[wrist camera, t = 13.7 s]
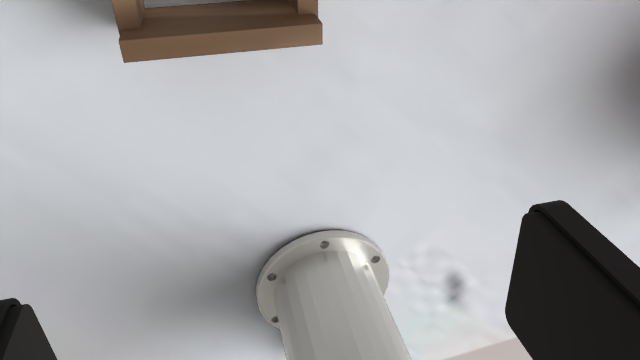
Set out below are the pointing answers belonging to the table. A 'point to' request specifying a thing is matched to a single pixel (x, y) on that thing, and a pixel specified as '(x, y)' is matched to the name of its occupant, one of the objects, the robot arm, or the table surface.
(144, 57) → the rack
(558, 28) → the table surface
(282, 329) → the robot arm
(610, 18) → the table surface
